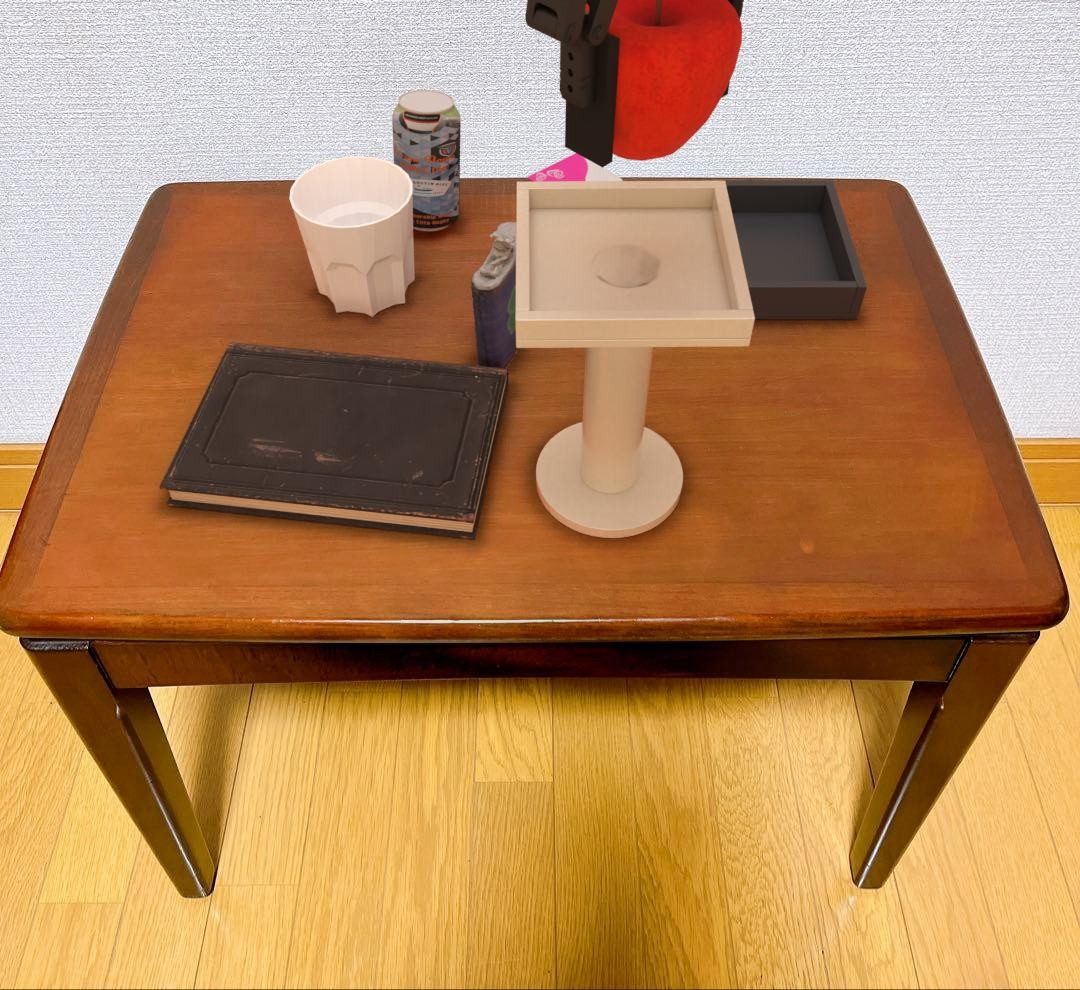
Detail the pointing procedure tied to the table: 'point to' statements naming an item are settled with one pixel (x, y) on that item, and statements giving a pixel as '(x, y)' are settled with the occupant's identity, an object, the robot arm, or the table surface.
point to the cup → (357, 231)
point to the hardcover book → (342, 440)
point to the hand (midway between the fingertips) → (648, 119)
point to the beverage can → (429, 155)
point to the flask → (496, 300)
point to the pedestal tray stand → (623, 328)
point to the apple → (670, 71)
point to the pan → (796, 250)
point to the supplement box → (573, 171)
